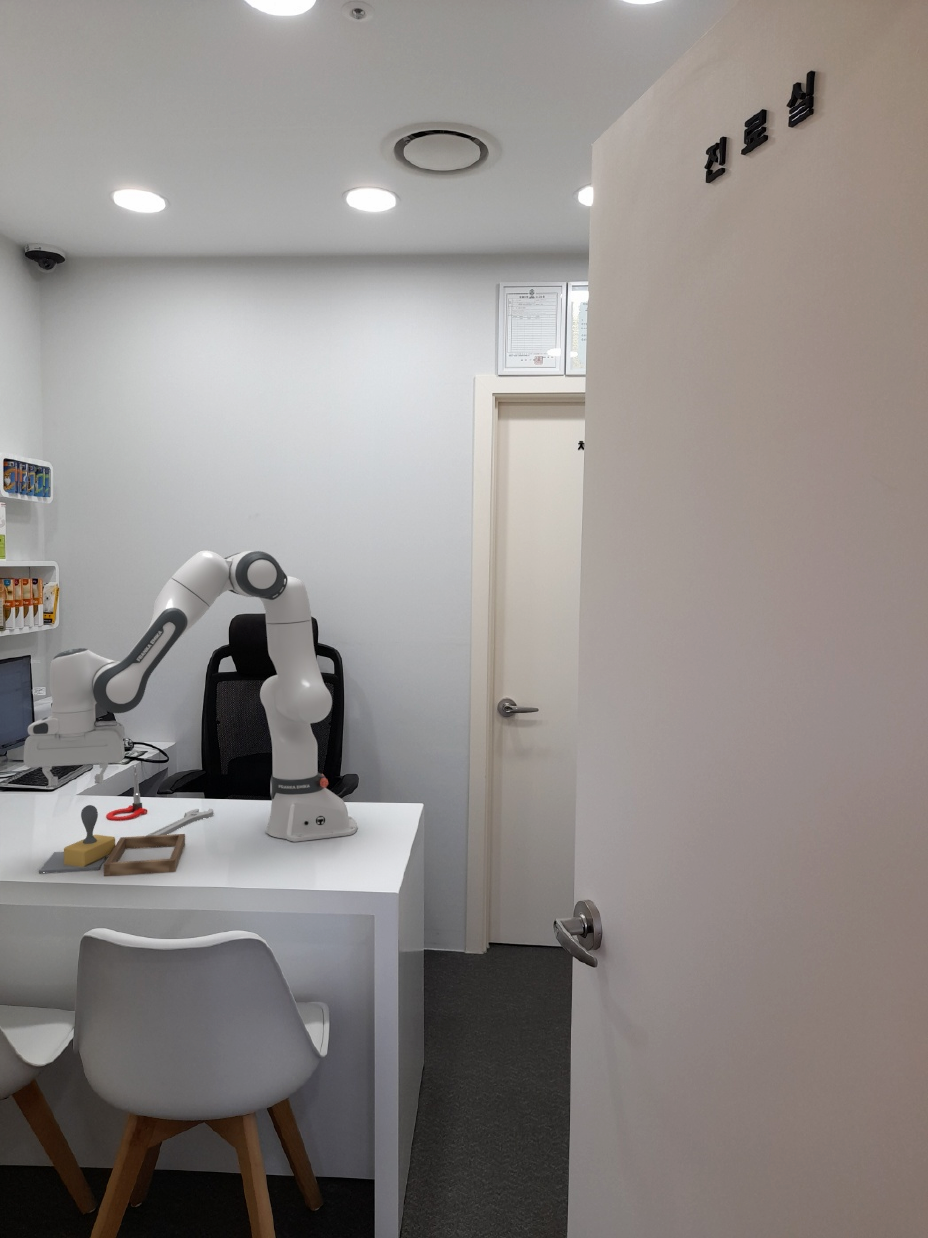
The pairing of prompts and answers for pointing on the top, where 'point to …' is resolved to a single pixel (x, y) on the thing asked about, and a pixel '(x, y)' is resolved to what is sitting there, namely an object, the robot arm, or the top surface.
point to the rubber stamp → (89, 843)
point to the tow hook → (135, 808)
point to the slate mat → (57, 865)
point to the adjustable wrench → (183, 821)
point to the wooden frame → (144, 866)
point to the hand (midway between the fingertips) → (76, 784)
